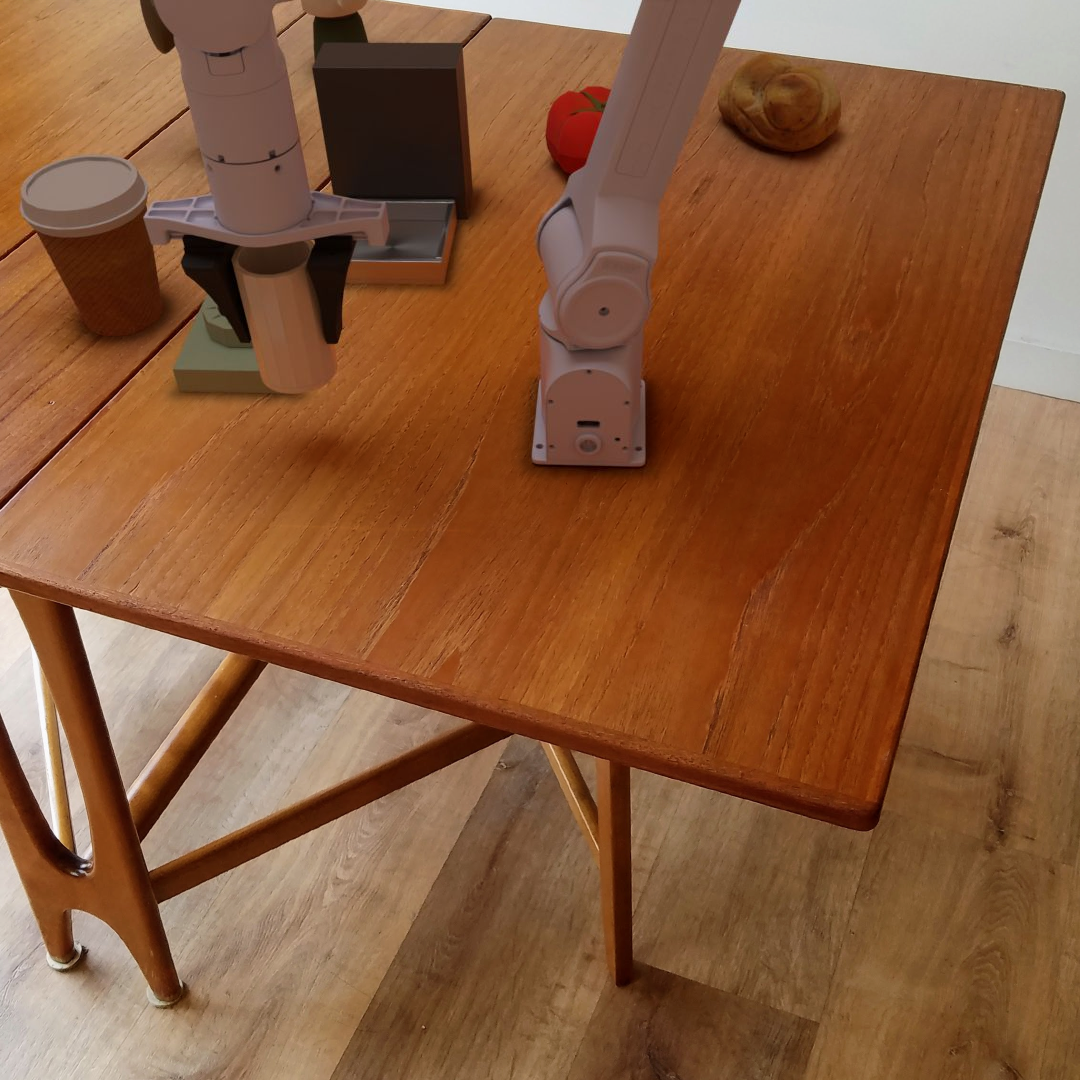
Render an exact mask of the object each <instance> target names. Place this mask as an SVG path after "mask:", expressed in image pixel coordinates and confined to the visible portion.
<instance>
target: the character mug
mask: <svg viewBox="0 0 1080 1080" xmlns="http://www.w3.org/2000/svg"><path fill="white" fill-rule="evenodd" d="M368 1H369V0H300V3H301V7H302V11H303V12H305V13H306V14H307V15H310V16H312V17H313V16H314V19H313V21H312V31H313V32H312V37H313V40H312V41H313V57H314V59H313V60H314V61H315V60H316V58H317V56H318V54H319V51H320V49H321V47H322V45H323V43H370V42H369V39H368V35H367V31H366V28H365V25H364V21H363V18H362V16H361V15H360V13H359V11H360V10H362V9H363V8H364V7H365V6H366V5H367V4H368Z"/></svg>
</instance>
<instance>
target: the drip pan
mask: <svg viewBox="0 0 1080 1080" xmlns="http://www.w3.org/2000/svg"><path fill="white" fill-rule="evenodd" d="M352 199H357V200H363V201H373V202H386V207H387V214H388V222H389V233H388V238H387V241H386V244H385V246H370V245H368V241H367V240H357V242H356V245H355V248H354V252H353V255H352V258H351V262H350V265H349V268H348V272H347V277H346V282H345V285H346V284H348V285H349V284H350V285H351V284H352V285H353V284H354V285H356V284H357V285H358V284H359V285H361V284H362V285H415V286H416V285H419V286H421V285H423V286H424V285H427V286H444V285H445V281H446V276H447V272H448V267H449V263H450V262H449V261H450V258H451V252H452V248H453V245H454V239H455V235H456V234H455V233H456V230H457V224H458V220H457V214H456V202H455V199H359V198H352Z"/></svg>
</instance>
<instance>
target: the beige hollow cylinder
mask: <svg viewBox="0 0 1080 1080" xmlns="http://www.w3.org/2000/svg"><path fill="white" fill-rule="evenodd" d="M314 244H315V242H313V240H304V241H299V242H293V243H288V244H282V245H277V246H270V247H245V246H239V247H238V248H237V249H236V250H235V251H234V254H233V256H232V258H231V261H232V265H233V269H234V273H235V277H236V281H237V285H238V289H239V293H240V297H241V301H242V305H243V309H244V313H245V317H246V321H247V325H248V329H249V333H250V337H251V341H252V345H253V349H254V353H255V357H256V361H257V365H258V369H259V372H260V376H261V379H262V381H263V383H264V384H265V385H266V386H267V387H269V388H270V389H272V390H274V391H277V392H280V393H279V394H285V393H286V394H285V395H296V394H297V395H299V394H305V393H309V392H313V391H315V390H317V389H320V388H322V387H324V386H325V385H327V384H328V383H329V382H330V381H331V380H332V379H333V378H334V377H335V375H336V373H337V371H338V356H337V352H336V346H335V344H327V342H326V339H325V336H324V331H323V324H322V316H321V309H320V305H319V301H318V297H317V294H316V291H315V288H314V285H313V283H312V280H311V278H310V275H309V273H308V271H307V266H306V265H307V262H308V259H309V256H310V253H311V250H312V248H313V247H314Z"/></svg>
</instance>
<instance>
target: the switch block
mask: <svg viewBox="0 0 1080 1080" xmlns="http://www.w3.org/2000/svg"><path fill="white" fill-rule="evenodd" d="M189 330H190V331H189V332H188V335H187V337H186V339H185V342H184V344H183V346H182V348H181V350H180V352H179V354H178V356H177V358H176V361H175V363H174V365H173V368H172V372H173V375H174V378H175V381H176V384H177V388H178V390H179V392H186V393H187V392H188V393H189V392H190V393H191V392H192V393H196V392H197V393H234V394H235V393H236V394H237V393H241V394H242V393H244V394H281V393H280V392H277V391H274V390H272V389H270V388H269V387H267V386H266V385H265V384H264V383H263V381H262V379H261V376H260V372H259V369H258V365H257V361H256V357H255V353H254V349H253V345H252V341H251V342H250V343H241V342H240V341H239V339H238V337H237V335H236V334H235V332H234V330H233V328H232V327H231V325H230V323H229V322H228V320H227V319H226V317H225V316H224V314H223V313H222V311H221V310H220V308H219V307H218V306H217V304H216V303H215V302H214V301H213V300H212V298H211V297H210V296H209V295H208V294H207V293H206V296H205V297H204V300H203V302H202V304H201V307H200V308H199V311H198V312H197V315H196V317H195V319H194V321H193V324H192V326H191V328H190V329H189ZM284 394H285V395H287V394H286V393H284Z"/></svg>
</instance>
